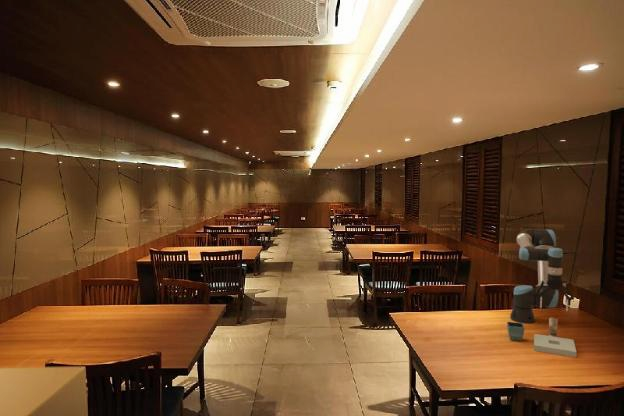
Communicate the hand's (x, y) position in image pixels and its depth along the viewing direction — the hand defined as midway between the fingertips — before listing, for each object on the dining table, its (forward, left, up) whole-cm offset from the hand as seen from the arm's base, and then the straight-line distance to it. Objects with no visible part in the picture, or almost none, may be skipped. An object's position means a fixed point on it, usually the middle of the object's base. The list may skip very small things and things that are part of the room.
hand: (553, 309), depth 248 cm
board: (0, -16, -18) cm, 24 cm away
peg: (0, 0, -18) cm, 18 cm away
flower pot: (-20, -12, -18) cm, 30 cm away
